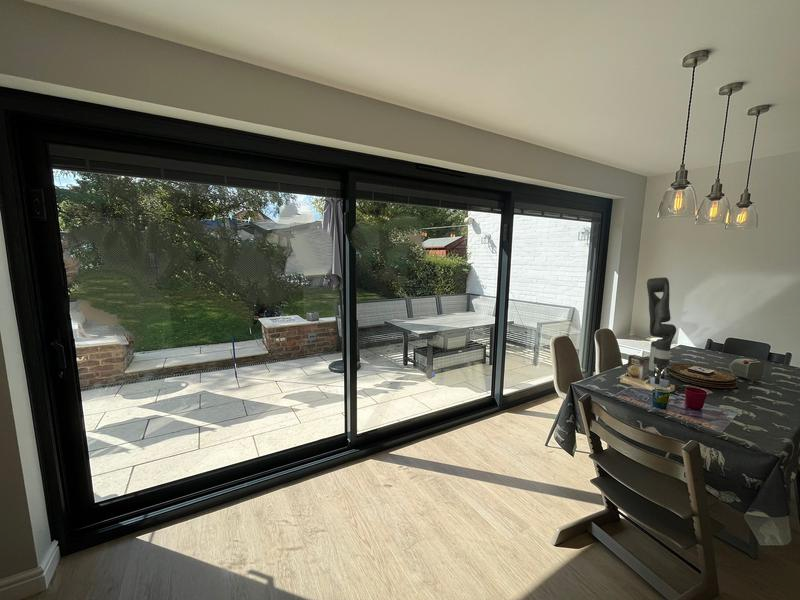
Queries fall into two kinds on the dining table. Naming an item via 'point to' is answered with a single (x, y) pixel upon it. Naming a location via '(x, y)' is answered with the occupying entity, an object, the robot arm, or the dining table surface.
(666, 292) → the robot arm
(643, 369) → the coffee box
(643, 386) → the jig
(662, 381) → the wing block
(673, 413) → the dining table surface
